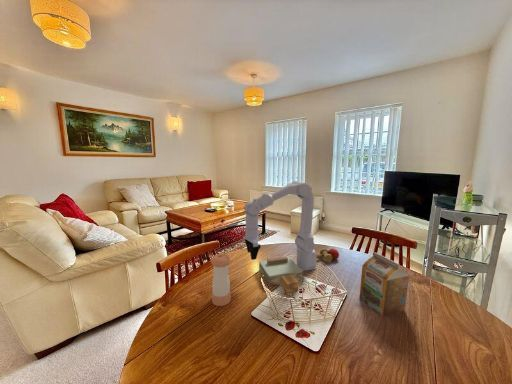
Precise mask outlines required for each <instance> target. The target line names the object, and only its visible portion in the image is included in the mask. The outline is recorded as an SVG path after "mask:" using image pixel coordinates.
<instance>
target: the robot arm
mask: <svg viewBox="0 0 512 384" xmlns="http://www.w3.org/2000/svg"><path fill="white" fill-rule="evenodd" d="M312 189H313V187H312V186H311V185H310V184H309V183H306V182H300V181H297V180H294V181H292V182H290V183H287V184H286V185H284V186H283V187H281V188H280V189H278V190H276V191H274V192H272V193H271V194H270V193H261V196H259V197H257V198H253V199H252V200H249V201H247V202H246V203H245V204H244V207H243V210H244V211H245V235H244V236H242V238H243V240H244V242H245V246H246V251H247V253H250V259H251V260H257V258H258V253H259V252H260V249H261V247H262V245H261V244H260V243H259V214H260V212H261V211H262V210H265V209H267V208H268V207H271V206H273V204H274V202H275V201H276V200H277V201H278V200H279V199H281V198H284V197H286V196H288V195H294V196H297V197H298V198H299V199H300V200H301V211H300V212H301V214H300V227H299V231H297V234H296V237H295V239H294V244H295V245H296V249H297V250H296V262H294V263H295V264H296V265H297V266H298V267H299V268H300V269H301V270H302V272H305V271H310V270H311V271H312V270H317V269H318V267H317V260H318V259H317V255H316V254H317V252H316V250H315V246H316V245H315V242H314V240H315V239H314V236H313V234H312V223H313V214H314V203H315V196H314V193H313V192H312Z"/></svg>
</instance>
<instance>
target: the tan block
mask: <svg viewBox="0 0 512 384" xmlns="http://www.w3.org/2000/svg"><path fill="white" fill-rule="evenodd" d="M280 285H281V286H282V289H284V291H285V292H286V293H287V294H288V293H294V292H299V281H297V280H296V278H295V277H294V276H293V275H286V276H282V279H281V284H280Z"/></svg>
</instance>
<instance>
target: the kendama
mask: <svg viewBox="0 0 512 384" xmlns="http://www.w3.org/2000/svg"><path fill="white" fill-rule="evenodd" d="M316 255H317V259H316V260H318V259H321V258H322V259H323V261H324V262H325V263H330V262H332V261H335V260H338V259H339V257H340V253H339V251H338V250H337V249H336V248H330V249H329V250H328V249H326V248H322V249H320V251H319V253H316Z"/></svg>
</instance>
